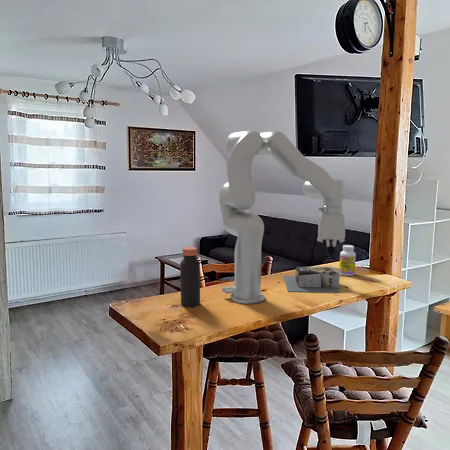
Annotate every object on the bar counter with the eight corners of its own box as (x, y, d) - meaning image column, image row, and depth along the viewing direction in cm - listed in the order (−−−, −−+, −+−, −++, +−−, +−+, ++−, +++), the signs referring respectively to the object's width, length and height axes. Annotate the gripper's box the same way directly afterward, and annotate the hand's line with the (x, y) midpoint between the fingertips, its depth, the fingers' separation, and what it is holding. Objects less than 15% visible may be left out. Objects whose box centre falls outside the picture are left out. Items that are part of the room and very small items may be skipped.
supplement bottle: (336, 274, 187) (338, 246, 185) (342, 271, 192) (343, 243, 191) (351, 277, 183) (353, 248, 181) (356, 274, 189) (358, 245, 187)
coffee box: (340, 272, 166) (298, 272, 166) (339, 288, 167) (298, 287, 167) (334, 266, 175) (295, 266, 175) (333, 281, 176) (294, 281, 176)
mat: (287, 291, 163) (287, 291, 163) (283, 276, 185) (283, 275, 184) (340, 292, 162) (340, 292, 162) (329, 277, 183) (329, 276, 183)
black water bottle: (203, 302, 151) (202, 247, 148) (194, 308, 145) (194, 251, 142) (186, 299, 153) (185, 245, 150) (177, 305, 147) (176, 249, 144)
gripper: (314, 211, 164) (312, 257, 167) (353, 211, 163) (351, 258, 166) (311, 209, 171) (310, 253, 174) (348, 209, 170) (346, 254, 173)
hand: (330, 255), depth 170 cm, fingers closed
